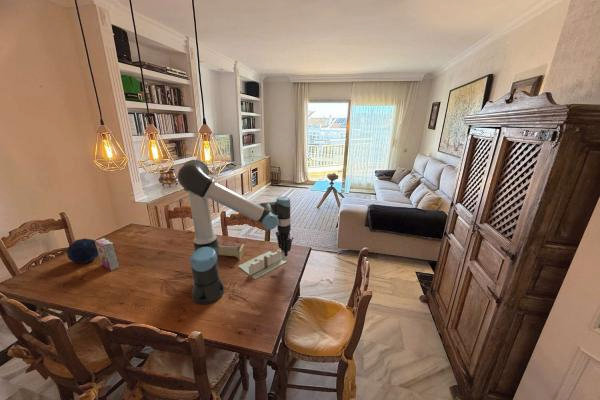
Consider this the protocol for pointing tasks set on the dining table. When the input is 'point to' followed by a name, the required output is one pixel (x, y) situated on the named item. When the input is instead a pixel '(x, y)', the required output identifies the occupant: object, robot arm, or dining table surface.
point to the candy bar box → (107, 254)
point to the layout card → (256, 275)
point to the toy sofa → (231, 250)
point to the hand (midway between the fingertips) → (284, 259)
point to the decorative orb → (82, 251)
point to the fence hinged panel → (274, 257)
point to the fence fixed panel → (258, 265)
